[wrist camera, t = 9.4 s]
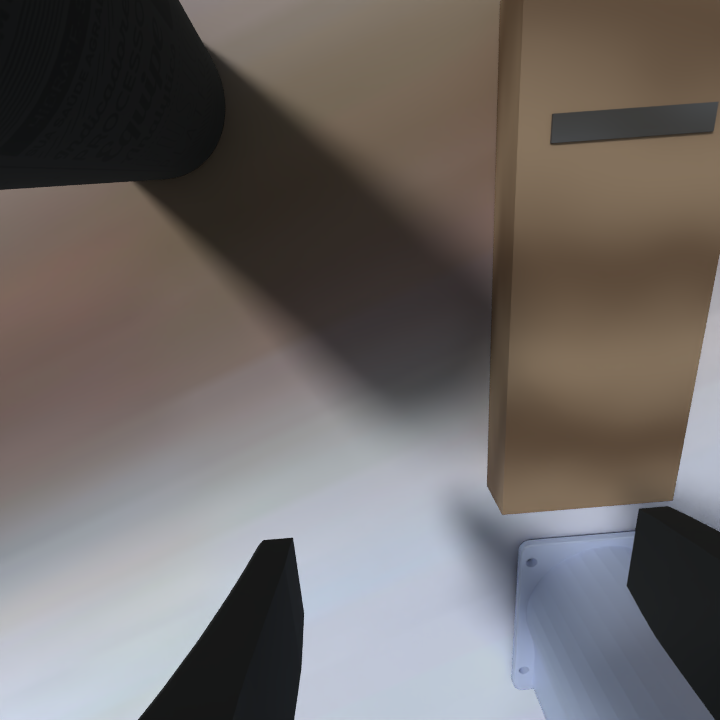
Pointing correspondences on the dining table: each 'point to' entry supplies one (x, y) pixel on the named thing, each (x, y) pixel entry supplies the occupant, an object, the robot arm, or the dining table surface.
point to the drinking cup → (103, 93)
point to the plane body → (600, 246)
